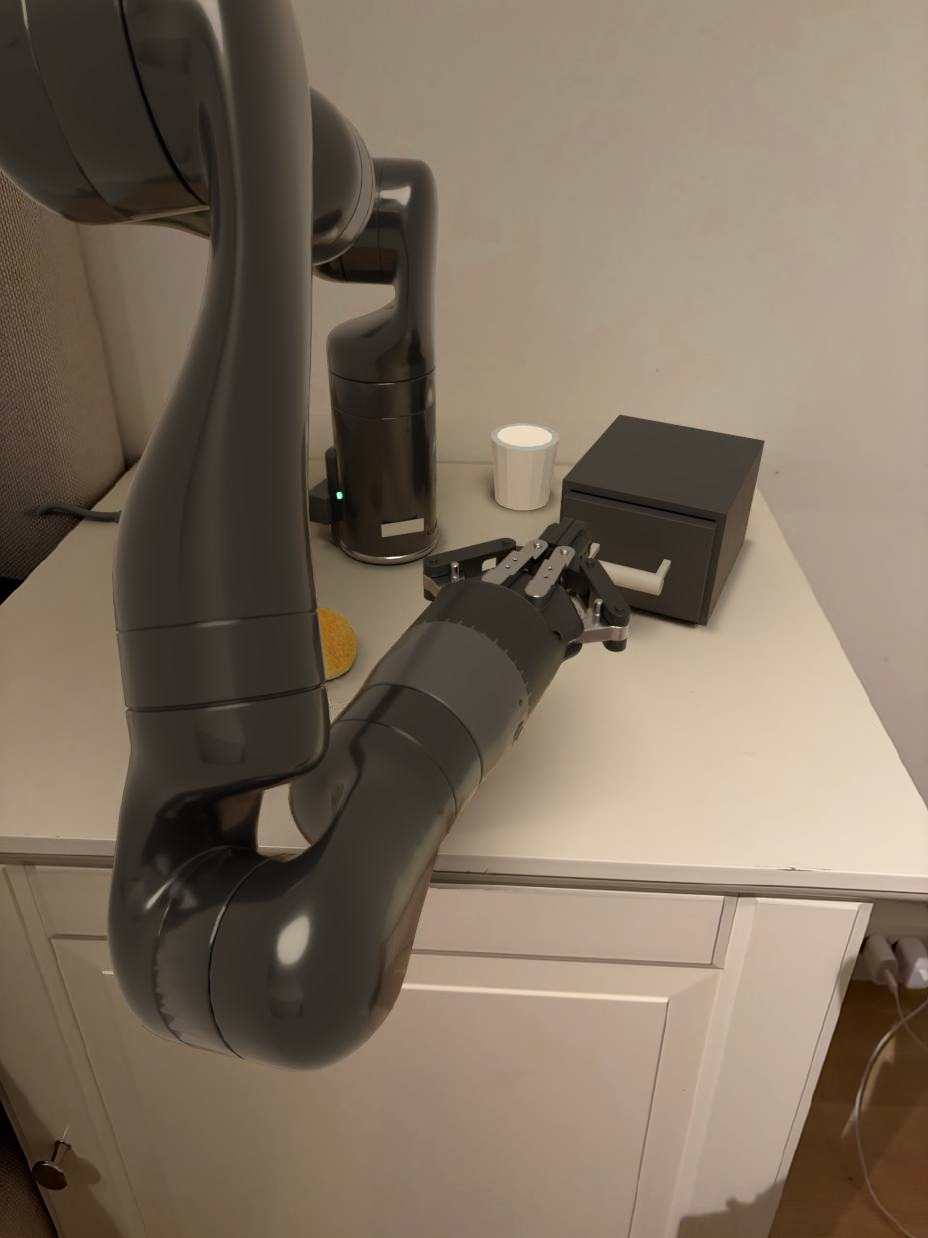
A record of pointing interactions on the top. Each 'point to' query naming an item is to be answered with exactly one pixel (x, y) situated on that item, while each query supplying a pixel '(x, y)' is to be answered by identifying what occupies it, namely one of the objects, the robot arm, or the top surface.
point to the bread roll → (336, 642)
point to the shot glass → (523, 464)
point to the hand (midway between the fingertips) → (574, 532)
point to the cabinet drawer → (648, 551)
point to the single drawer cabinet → (677, 481)
